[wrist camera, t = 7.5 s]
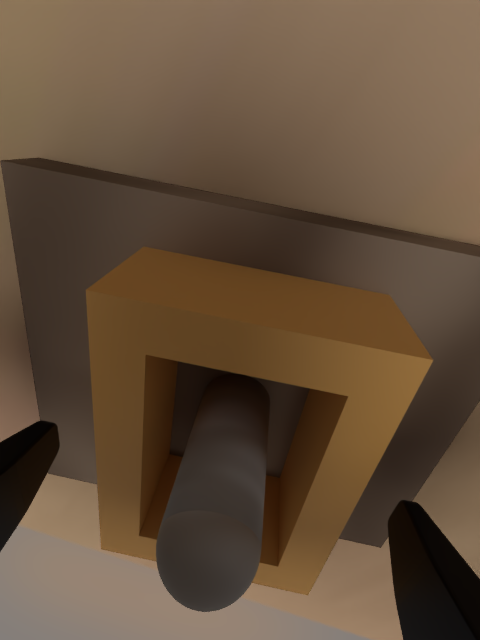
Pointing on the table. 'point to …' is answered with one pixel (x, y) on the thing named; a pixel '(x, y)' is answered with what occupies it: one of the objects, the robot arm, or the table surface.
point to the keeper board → (222, 386)
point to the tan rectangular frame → (252, 360)
